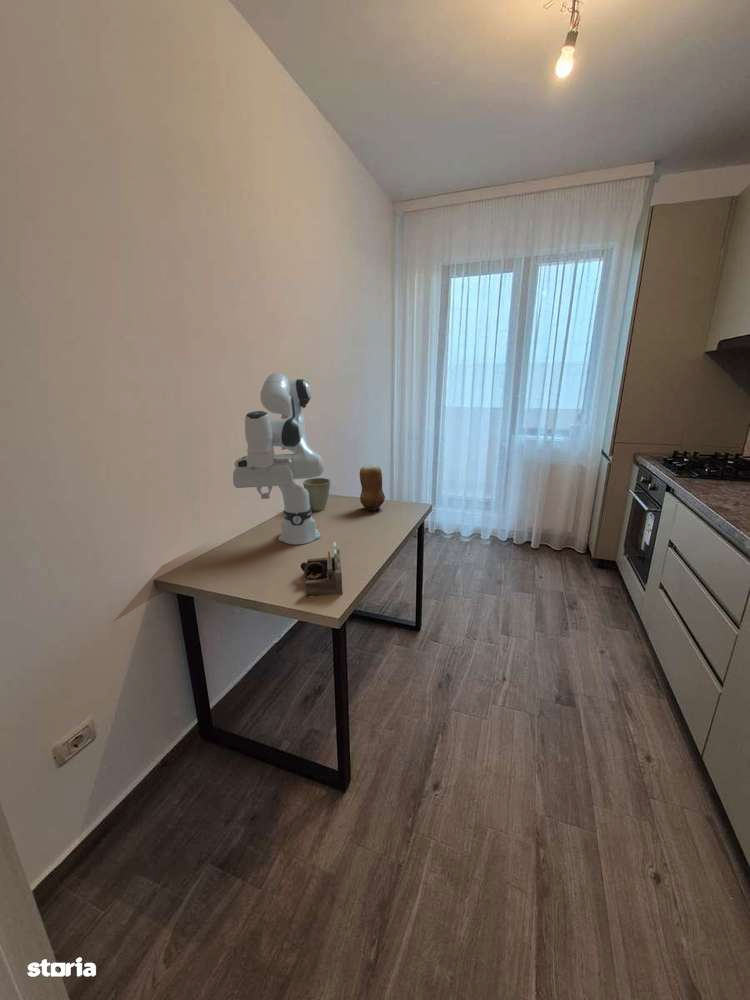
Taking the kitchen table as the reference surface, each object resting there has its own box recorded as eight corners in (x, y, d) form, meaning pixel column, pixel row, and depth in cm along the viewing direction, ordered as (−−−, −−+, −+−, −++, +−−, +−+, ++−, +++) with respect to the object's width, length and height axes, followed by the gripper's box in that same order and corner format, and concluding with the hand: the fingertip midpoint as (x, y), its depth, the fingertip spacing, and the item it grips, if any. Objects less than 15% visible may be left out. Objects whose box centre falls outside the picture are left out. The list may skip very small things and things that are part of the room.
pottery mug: (335, 578, 146) (332, 565, 140) (319, 598, 141) (315, 586, 134) (309, 564, 150) (305, 551, 144) (293, 583, 145) (288, 570, 139)
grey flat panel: (328, 573, 147) (326, 546, 144) (332, 573, 147) (330, 546, 144) (328, 587, 137) (326, 558, 134) (333, 586, 138) (331, 557, 134)
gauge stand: (308, 571, 150) (305, 539, 147) (340, 568, 152) (338, 536, 148) (306, 597, 132) (303, 561, 129) (342, 594, 134) (340, 558, 130)
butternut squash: (363, 505, 227) (361, 462, 220) (386, 506, 225) (385, 462, 218) (358, 513, 214) (356, 467, 207) (382, 514, 212) (382, 468, 204)
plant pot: (303, 513, 215) (301, 485, 211) (306, 505, 230) (304, 478, 225) (331, 512, 216) (330, 484, 212) (332, 504, 231) (330, 477, 226)
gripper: (292, 456, 142) (296, 494, 146) (233, 459, 139) (238, 497, 143) (291, 460, 136) (294, 499, 140) (229, 463, 133) (234, 502, 137)
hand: (265, 498), depth 141 cm, fingers closed
